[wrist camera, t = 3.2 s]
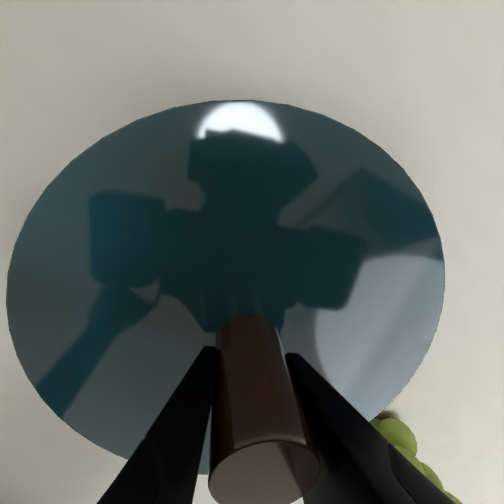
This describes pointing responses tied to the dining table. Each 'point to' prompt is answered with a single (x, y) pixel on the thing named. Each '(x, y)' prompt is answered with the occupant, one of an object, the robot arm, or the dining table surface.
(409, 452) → the grapes
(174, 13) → the dining table surface
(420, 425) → the dining table surface
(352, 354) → the lid
